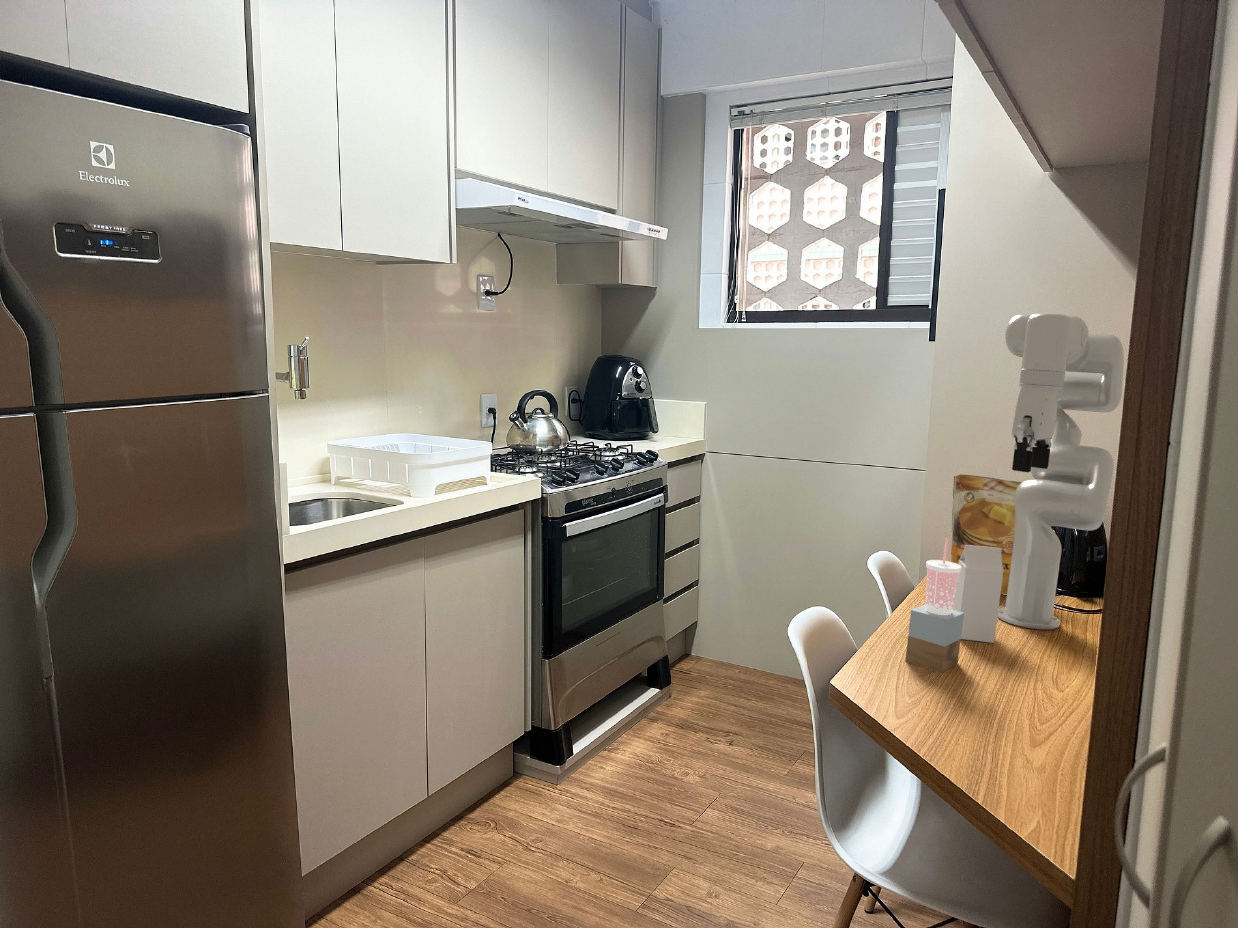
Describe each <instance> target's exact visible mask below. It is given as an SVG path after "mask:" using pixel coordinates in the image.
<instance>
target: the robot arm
mask: <svg viewBox="0 0 1238 928" xmlns="http://www.w3.org/2000/svg"><path fill="white" fill-rule="evenodd" d="M1004 339H1005V345H1006V348H1007V349H1008V351H1009V352H1010V353H1011V354H1013V356H1016V357H1019V358H1021V359H1022V361H1021V369H1020V376H1019V383H1018V386H1019V387H1020V390H1019V394H1018V397H1017V402H1016V405H1015V410H1014V416H1013V423H1012V428H1011V436H1012V437H1013V438H1014V440H1015V441H1014V442H1015V444H1014V446H1013V447H1014V451H1013V457H1012V458H1013V459H1012V466H1011V469H1012V471H1016V472H1023V473H1030V472H1031V475H1032V477H1033V479H1028V480H1027V479H1026V480H1023V481H1021V482H1022V483H1021V484H1020V485H1019V486H1018V487H1017V489H1016V492H1015V533H1014V542H1013V550H1012V558H1011V566H1010V574H1009V581H1008V589H1007V596H1006V597H1005V599H1006V600H1005V605H1004V606H1003V607H999V609H998V617H997V618H998V619H1000V620H1002V621H1004V622H1005V623H1009V624H1011V625H1015V626H1016V627H1017V626H1018V627H1021V628H1027V629H1031V630H1032V629H1034V630H1054V629H1055V630H1056V629H1057V628H1059V627H1060V619H1059V618H1057V617H1056V616H1054V615H1053V614H1054V607H1055V600H1056V593H1057V586H1058V580H1059V579H1058V578H1059V571H1060V563H1061V556H1062V544H1061V541H1060V538H1059V537H1058V535H1057V534H1056V532H1055V530H1053V528H1052V527H1062V528H1067V529H1074V530H1082V531H1095V530H1097V529H1099V528H1100V527H1101V525H1102V524H1103V521H1104V519H1105V515H1106V512H1107V508H1108V507H1107V506H1108V503H1109V498H1110V497H1109V496H1110V492H1111V491H1110V490H1111V486H1112V481H1113V476H1114V475H1113V474H1114V468H1115V467H1114V459H1113V456H1112V454H1111V453H1110V451H1108V450H1107V449H1104V448H1102V447H1097V446H1088V445H1081V440H1082V434H1083V433H1082V431H1081V429H1080V427H1079V425H1078V424H1077V422H1076V421H1075V420H1074V419H1073V418H1072V417H1071V416H1070V415H1069V414H1068V413H1067V412H1065V410H1067V411H1080V412H1093V413H1111V412H1113V411H1115V410H1117V408H1118V407H1119V406H1120V403H1121V400H1122V393H1123V378H1124V377H1123V376H1124V362H1125V361H1124V360H1125V359H1124V357H1125V356H1124V348H1123V343H1122V341H1121V340H1120V338H1118V336H1116V335H1115V334H1113V335H1112V334H1100V333H1099V334H1098V333H1093V334H1092V333H1089V327H1088V325H1087V324H1086V323H1085V320H1083V319H1082V318H1081V317H1079V316H1077V315H1066V314H1061V313H1034V314H1025V313H1024V314H1016V315H1015V316H1013V317H1012V318H1011V319H1010V320H1009V321H1008V323H1007V326H1006V329H1005V337H1004Z"/></svg>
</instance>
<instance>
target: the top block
mask: <svg viewBox="0 0 1238 928" xmlns="http://www.w3.org/2000/svg"><path fill="white" fill-rule="evenodd" d="M925 604H926V603H925ZM925 604H923V605H920V606H918V607H915V608H912V609H911V610H910V619H909V626H908V634H907V637H908V636H911V637H914V638H918V639H921V640H924V641H928V642H931V643H934V644H938V645H941V646H944V647H945V646H947V645H949V644H951V643H953V642H955V641H957V640H959V639H961V635H962V626H963V618H964V613H963V612H959V611H955V610H953V609H952V613H951V614H950V615H938V614H933V613H930V612H928V611H926V609H925ZM961 640H962V639H961Z"/></svg>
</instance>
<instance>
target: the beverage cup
mask: <svg viewBox="0 0 1238 928" xmlns="http://www.w3.org/2000/svg"><path fill="white" fill-rule="evenodd" d="M948 544H949V537H945V539H944V548H943V556H942V557H943V558H942V560H941V559H940V560H939V559H930V560H927V561H926V562H925V567H926V584H925V585H926V587H925V609H926V611H928V612H930V613H933V614H938V615H950V614H951V613H952V610H953V607H954V599H955V592H956V587H957V582H958V576H959V572H961V568H962V567H961V565H959V564H956V563H953V562H951V561H949V560H947V551H948Z"/></svg>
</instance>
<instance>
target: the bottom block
mask: <svg viewBox="0 0 1238 928" xmlns="http://www.w3.org/2000/svg"><path fill="white" fill-rule="evenodd" d="M961 640H962V639H959V640H957V641H955V642H953V643H951V644H949V645H947V646H945V647H944V646H941V645H938V644H934V643H931V642H928V641H924V640H921V639H918V638H914V637H911V636H908V635H907V643H906V644H907V645H906V652H905V659H904V660H905V662H907V663H910V664H914V665H917V666H920V667H923V668H926V669H928V670H929V669H930V670H932V671H935V672H937V673H944V672H946V671H948V670H949V669H950V668H952V667H955V666H957V665H958V664H959V658H960V657H959V655H960V647H961Z"/></svg>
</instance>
